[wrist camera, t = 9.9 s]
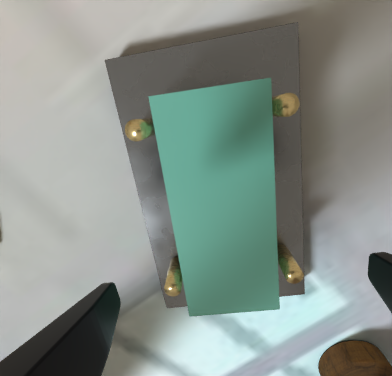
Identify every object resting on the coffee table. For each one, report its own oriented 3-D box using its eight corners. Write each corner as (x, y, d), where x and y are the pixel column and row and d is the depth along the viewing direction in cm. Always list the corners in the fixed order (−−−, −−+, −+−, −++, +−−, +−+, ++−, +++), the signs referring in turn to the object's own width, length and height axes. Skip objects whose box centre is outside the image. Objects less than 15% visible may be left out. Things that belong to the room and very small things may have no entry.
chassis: (297, 281, 21) (321, 324, 17) (169, 295, 22) (160, 339, 18) (288, 31, 15) (323, -3, 11) (113, 65, 16) (80, 46, 12)
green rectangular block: (264, 269, 19) (279, 309, 15) (192, 276, 19) (189, 316, 15) (253, 87, 15) (271, 77, 11) (162, 101, 15) (148, 96, 11)
